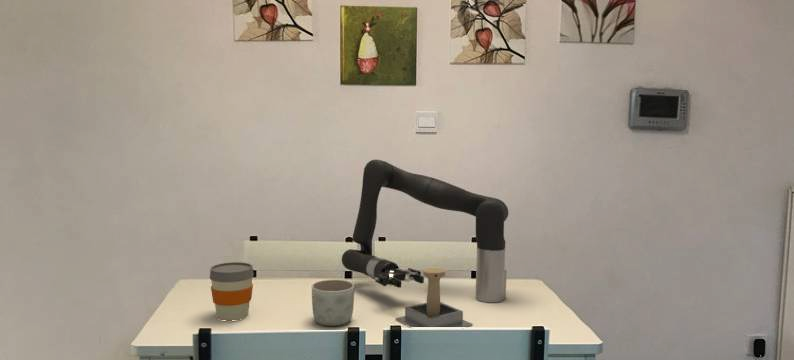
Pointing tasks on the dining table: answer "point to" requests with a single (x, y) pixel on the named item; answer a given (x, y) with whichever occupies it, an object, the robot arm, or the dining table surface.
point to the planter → (332, 302)
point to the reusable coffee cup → (231, 289)
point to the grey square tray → (446, 318)
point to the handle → (433, 290)
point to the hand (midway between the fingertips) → (411, 282)
